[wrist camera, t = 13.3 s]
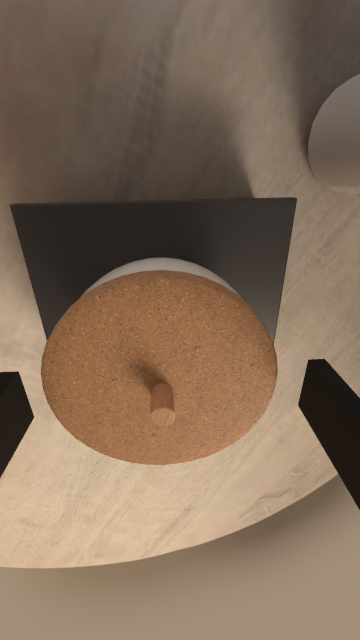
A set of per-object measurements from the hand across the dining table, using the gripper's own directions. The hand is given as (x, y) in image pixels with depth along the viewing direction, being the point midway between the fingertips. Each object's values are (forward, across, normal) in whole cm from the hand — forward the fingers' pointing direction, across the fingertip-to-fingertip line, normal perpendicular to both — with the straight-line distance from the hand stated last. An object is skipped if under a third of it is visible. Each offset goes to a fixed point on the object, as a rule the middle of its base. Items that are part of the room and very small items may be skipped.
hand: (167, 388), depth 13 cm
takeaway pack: (+14, 0, 0) cm, 15 cm away
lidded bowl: (+8, 0, 0) cm, 8 cm away
